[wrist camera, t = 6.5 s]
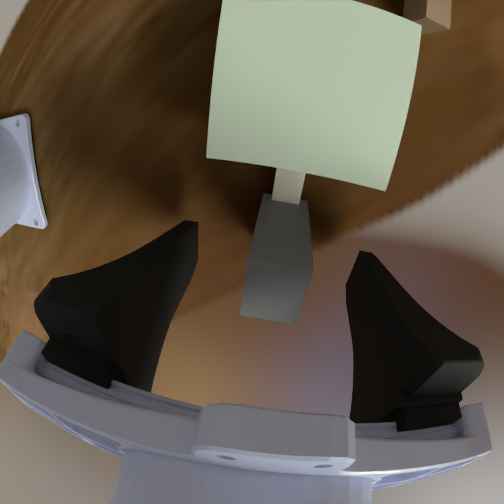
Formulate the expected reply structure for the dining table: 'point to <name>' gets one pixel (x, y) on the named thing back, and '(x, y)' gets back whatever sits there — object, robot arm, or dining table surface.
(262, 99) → the sage block
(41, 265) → the dining table surface
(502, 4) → the dining table surface
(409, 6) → the frame
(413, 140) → the dining table surface
